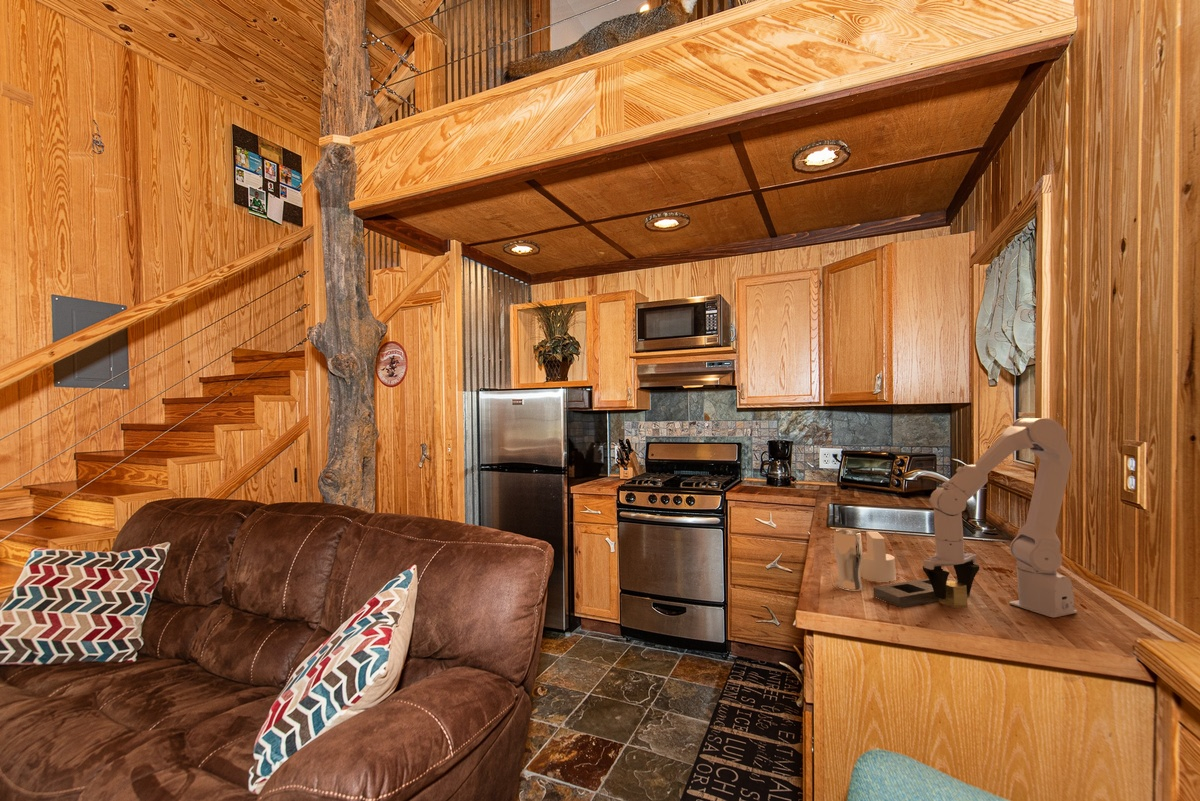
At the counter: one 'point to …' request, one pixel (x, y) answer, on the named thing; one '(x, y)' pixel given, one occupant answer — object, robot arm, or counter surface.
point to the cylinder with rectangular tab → (877, 560)
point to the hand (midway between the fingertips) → (952, 595)
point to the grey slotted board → (907, 593)
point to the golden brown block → (955, 595)
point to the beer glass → (848, 558)
